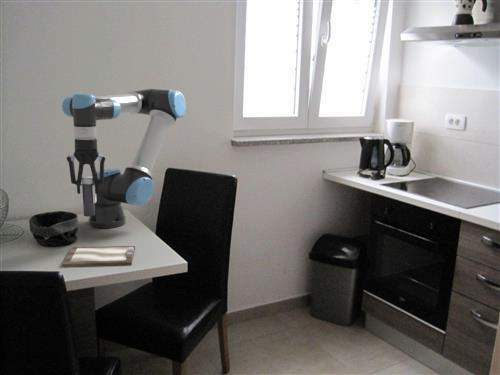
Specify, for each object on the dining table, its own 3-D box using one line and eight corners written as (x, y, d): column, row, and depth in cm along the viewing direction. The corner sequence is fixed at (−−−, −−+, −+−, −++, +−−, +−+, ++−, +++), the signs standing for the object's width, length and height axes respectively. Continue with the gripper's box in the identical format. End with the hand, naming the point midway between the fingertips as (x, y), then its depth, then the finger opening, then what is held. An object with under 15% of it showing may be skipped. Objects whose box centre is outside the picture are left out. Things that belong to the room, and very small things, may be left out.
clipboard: (72, 249, 171) (72, 243, 171) (135, 248, 175) (135, 242, 174) (62, 266, 156) (62, 260, 156) (131, 264, 159) (131, 258, 159)
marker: (83, 213, 176) (82, 176, 173) (95, 213, 177) (94, 176, 174) (83, 216, 172) (81, 179, 169) (95, 216, 173) (93, 178, 170)
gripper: (58, 139, 163) (62, 205, 168) (108, 139, 166) (111, 204, 171) (63, 136, 170) (66, 199, 176) (111, 137, 173) (113, 199, 178)
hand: (88, 202), depth 173 cm, fingers closed on marker, 4 cm apart
